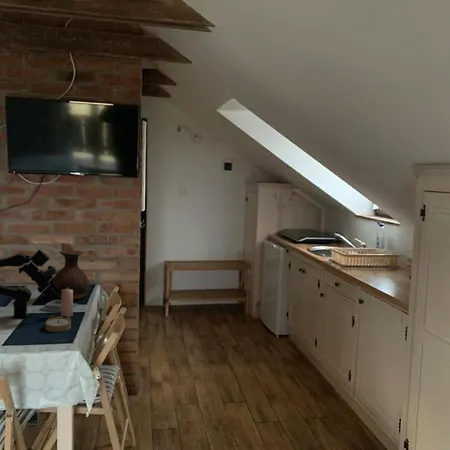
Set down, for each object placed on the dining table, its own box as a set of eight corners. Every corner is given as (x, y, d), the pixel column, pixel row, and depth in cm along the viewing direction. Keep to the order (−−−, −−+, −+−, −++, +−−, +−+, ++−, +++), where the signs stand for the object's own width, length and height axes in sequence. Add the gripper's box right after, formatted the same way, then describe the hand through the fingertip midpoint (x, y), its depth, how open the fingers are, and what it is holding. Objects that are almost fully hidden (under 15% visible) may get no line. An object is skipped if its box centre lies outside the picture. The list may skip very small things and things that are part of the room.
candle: (69, 317, 251) (69, 289, 250) (59, 316, 252) (59, 288, 250) (74, 314, 257) (75, 287, 255) (64, 313, 257) (64, 286, 256)
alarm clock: (44, 327, 227) (47, 311, 241) (44, 336, 228) (47, 321, 242) (70, 326, 230) (71, 311, 243) (70, 335, 231) (71, 320, 245)
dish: (65, 312, 259) (65, 307, 258) (40, 310, 261) (40, 305, 261) (77, 305, 272) (77, 300, 272) (53, 303, 275) (53, 298, 274)
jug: (95, 294, 298) (96, 244, 295) (81, 303, 277) (82, 249, 274) (60, 291, 300) (60, 242, 297) (43, 300, 279) (44, 247, 276)
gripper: (44, 265, 240) (68, 287, 244) (48, 258, 258) (70, 279, 262) (27, 281, 239) (51, 303, 243) (32, 273, 257) (54, 294, 261)
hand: (57, 294), depth 252 cm, fingers open, 9 cm apart
